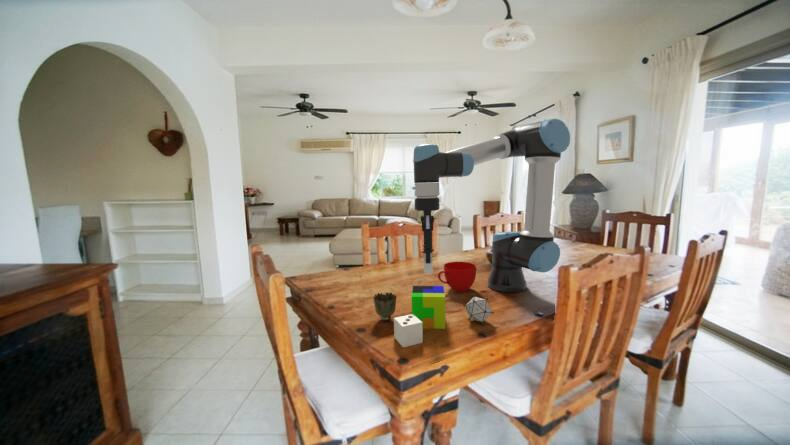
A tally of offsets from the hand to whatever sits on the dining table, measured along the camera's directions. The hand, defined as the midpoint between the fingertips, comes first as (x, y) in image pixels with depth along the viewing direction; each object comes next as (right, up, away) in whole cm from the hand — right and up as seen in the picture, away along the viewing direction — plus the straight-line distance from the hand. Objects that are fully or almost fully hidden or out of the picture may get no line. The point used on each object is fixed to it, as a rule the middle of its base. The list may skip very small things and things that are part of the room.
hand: (428, 272), depth 96 cm
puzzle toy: (0, -16, +2) cm, 16 cm away
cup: (-13, -16, +4) cm, 21 cm away
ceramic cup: (+15, -12, +29) cm, 35 cm away
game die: (+16, -16, +1) cm, 22 cm away
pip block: (-7, -18, -10) cm, 21 cm away
